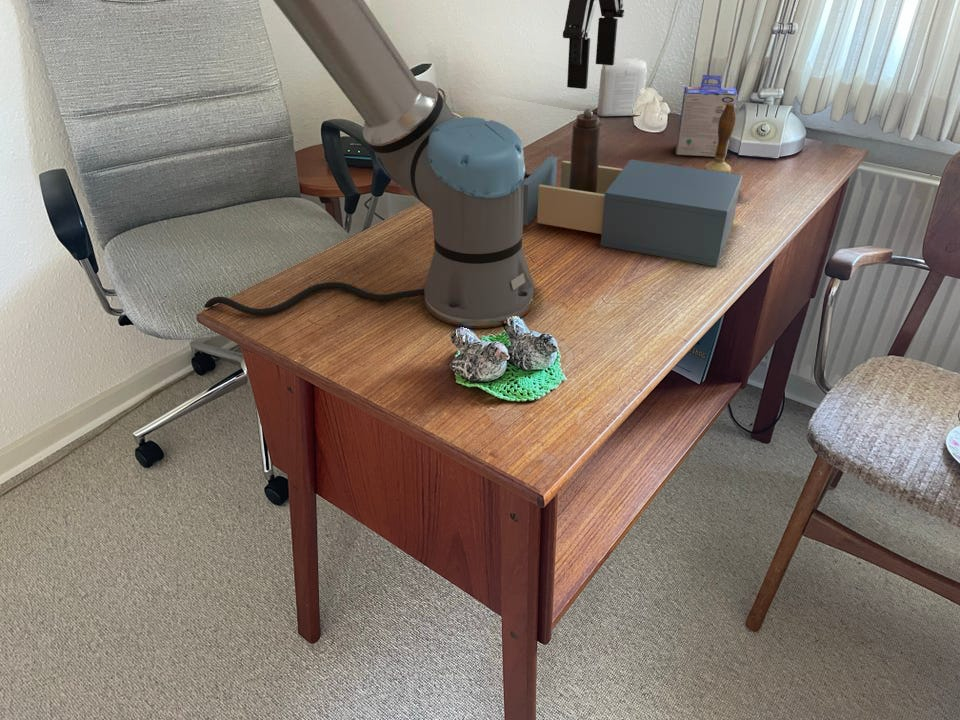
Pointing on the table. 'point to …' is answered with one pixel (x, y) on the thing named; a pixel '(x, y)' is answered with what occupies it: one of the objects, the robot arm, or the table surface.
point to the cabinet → (670, 211)
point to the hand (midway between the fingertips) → (591, 75)
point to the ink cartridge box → (703, 117)
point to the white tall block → (621, 86)
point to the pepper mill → (585, 152)
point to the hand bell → (723, 139)
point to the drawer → (565, 198)
